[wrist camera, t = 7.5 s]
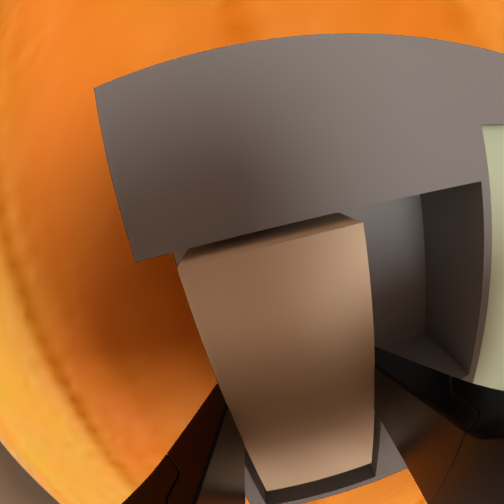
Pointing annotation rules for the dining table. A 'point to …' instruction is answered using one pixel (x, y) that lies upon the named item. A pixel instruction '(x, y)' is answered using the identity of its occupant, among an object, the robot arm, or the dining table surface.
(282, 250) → the maple block
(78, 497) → the dining table surface
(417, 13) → the dining table surface
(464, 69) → the jig board
